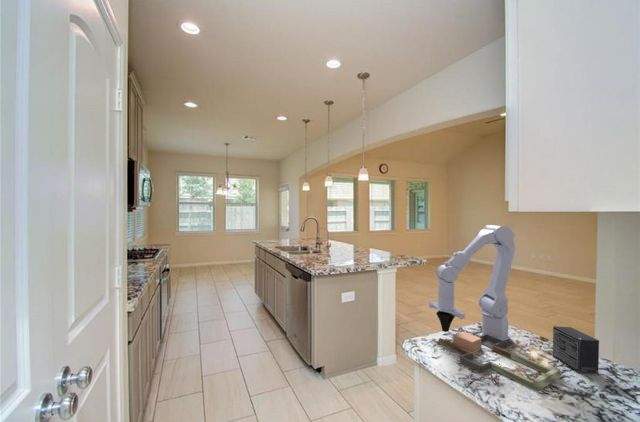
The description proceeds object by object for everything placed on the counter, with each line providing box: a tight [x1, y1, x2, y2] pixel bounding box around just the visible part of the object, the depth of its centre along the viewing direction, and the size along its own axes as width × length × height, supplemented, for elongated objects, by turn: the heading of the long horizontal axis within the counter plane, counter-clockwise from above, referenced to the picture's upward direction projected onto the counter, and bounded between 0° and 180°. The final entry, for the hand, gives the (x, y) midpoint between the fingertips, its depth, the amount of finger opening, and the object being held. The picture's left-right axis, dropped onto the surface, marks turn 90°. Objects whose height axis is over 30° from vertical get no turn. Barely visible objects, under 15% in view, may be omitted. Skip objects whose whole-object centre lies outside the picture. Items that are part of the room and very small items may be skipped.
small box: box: [552, 325, 600, 374], centre depth 92 cm, size 11×6×10 cm, turn 179°
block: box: [452, 330, 482, 353], centre depth 103 cm, size 6×7×4 cm
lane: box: [438, 337, 561, 392], centre depth 95 cm, size 13×32×2 cm, turn 29°
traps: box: [459, 334, 505, 374], centre depth 98 cm, size 25×13×2 cm, turn 119°
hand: (445, 330), depth 111 cm, fingers closed
